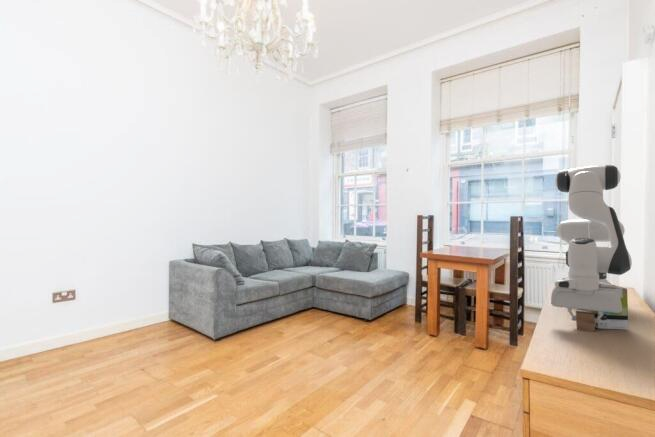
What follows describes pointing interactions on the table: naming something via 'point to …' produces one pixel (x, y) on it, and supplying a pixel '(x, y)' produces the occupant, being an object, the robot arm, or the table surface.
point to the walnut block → (585, 320)
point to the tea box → (614, 314)
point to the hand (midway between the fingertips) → (585, 321)
